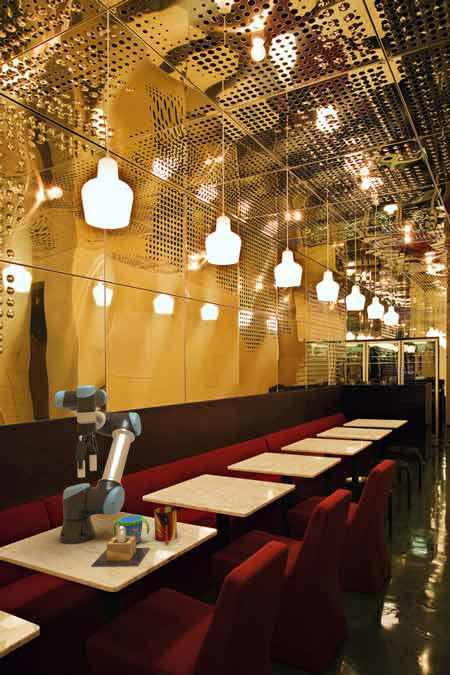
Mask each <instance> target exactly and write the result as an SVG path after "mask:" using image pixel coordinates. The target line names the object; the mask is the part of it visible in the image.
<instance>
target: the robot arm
mask: <svg viewBox="0 0 450 675" xmlns="http://www.w3.org/2000/svg"><path fill="white" fill-rule="evenodd" d="M107 401H108V393H107V392H106V391H105V390H104V389H100V388H99V389H98V388H96V387H95V385H78V386H77V387H76V390H61V391H58V392H56V393H55V396H54V405H55V407H56V408H58V409H67V410H68V411H70V412H71V413H73V414H74V415H75V416H76V421H77V427H76V430H77V433H80V435H78V436H77V445H76V451H75V456H74V461H75V462H77V478H85V477H86V460H85V456H86V451H87V449H88V451H89V453H90V455H89V471H90V472H94V471H95V472H96V471H97V467H98V466H97V455H99V449H98V443H97V438H96V433H98V434H99V435H103V436H105V437H106V436H107V437H111V438H113V441H112V444H111V447H110V450H109V453H108V458H107V461H106V464H105V467H104V470H103V474H102V478H101V479H99V480H98V481H97V482H96V486H95V487H93V486H91V484H90V483H89V482H88V483H87V482H86V483H84V482H83V483H80V484H79V483H78V484H75V485H71V486H68V487H66V488H65V489H63V496H62V500H63V501H62V503H63V504H62V505H63V506H62V508H63V523H62V525H61V526H62V527H61V530H60V534H59V542H60V543H62V544H71V545H72V544H79V543H83V542H88V541H91V540H92V539H94V538H95V536H96V534H95V533H96V531H95V528H94V525H93V522H92V519H91V515H107V516H109V515H116V514H117V513H119V512H120V511H121V510H122V508H123V505H124V502H125V496H126V494H125V489H124V488H123V485H122V483H121V481H122V477H123V473H124V469H125V466H126V462H127V457H128V455H129V454H128V453H129V449H130V446H131V443H133V442H134V441H135V438H136V436H140V435H141V433H142V424H141V422H142V421H141V418H140V415H139V414H138V413H137V412H115V413H113V412H111V413H104V412H102V411H100V410H97V409H96V407H101V406H104V405H106V403H107Z"/></svg>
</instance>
